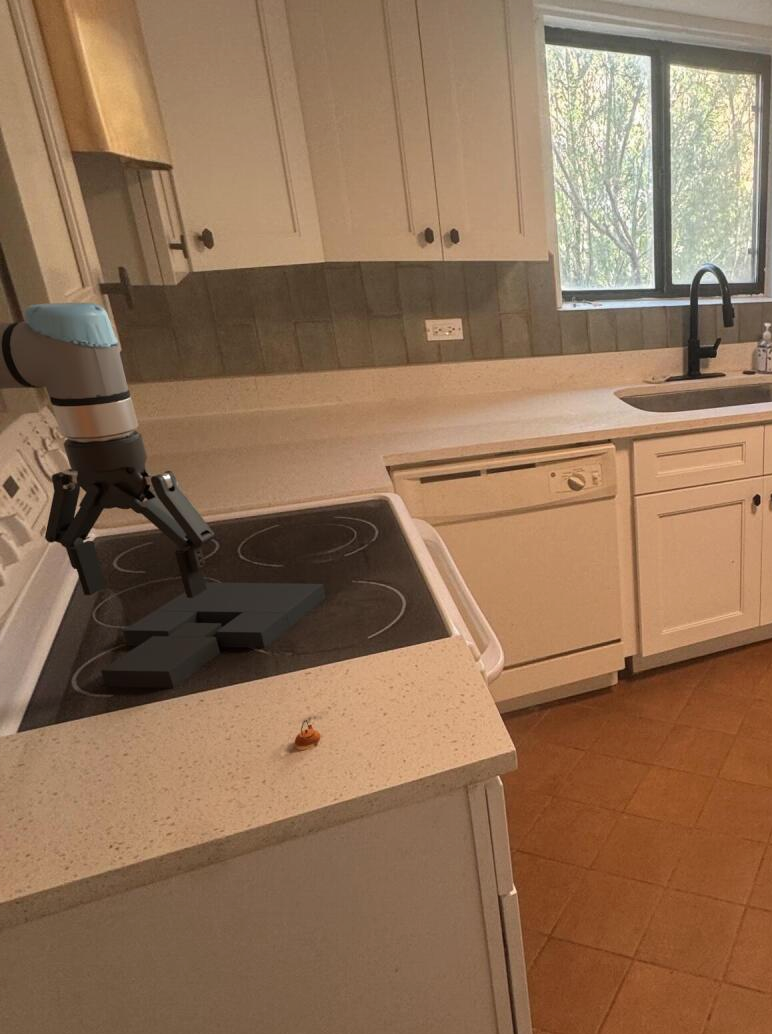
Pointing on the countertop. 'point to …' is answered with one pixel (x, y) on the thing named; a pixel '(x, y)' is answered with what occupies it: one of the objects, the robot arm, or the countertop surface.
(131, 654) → the pad
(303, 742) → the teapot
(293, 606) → the notch pad
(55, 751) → the countertop surface
